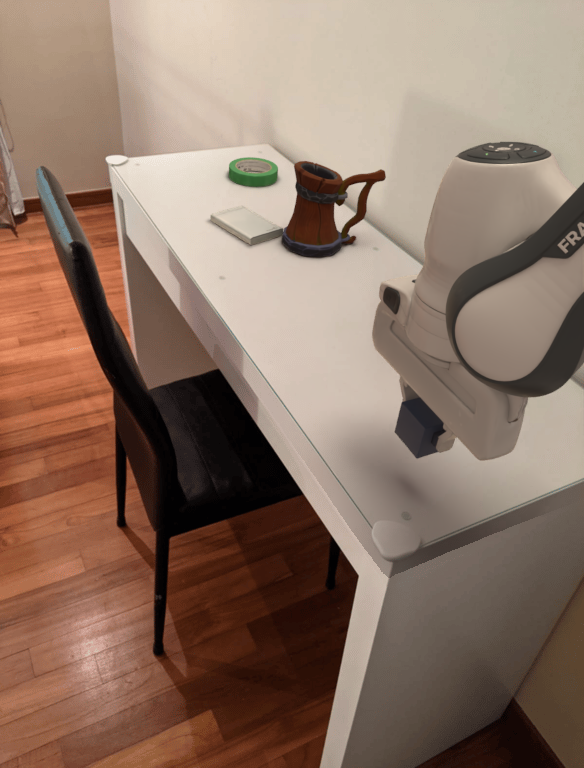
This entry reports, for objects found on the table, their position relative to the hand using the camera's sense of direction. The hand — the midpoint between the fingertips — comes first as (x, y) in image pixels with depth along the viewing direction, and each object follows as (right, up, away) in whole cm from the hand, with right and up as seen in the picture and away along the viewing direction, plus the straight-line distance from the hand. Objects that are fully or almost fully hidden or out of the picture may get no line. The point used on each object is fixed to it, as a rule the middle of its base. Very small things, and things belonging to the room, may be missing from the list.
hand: (424, 429), depth 66 cm
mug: (-7, +31, +51) cm, 60 cm away
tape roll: (-23, +52, +74) cm, 93 cm away
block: (0, -1, +1) cm, 2 cm away
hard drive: (-23, +35, +53) cm, 68 cm away
